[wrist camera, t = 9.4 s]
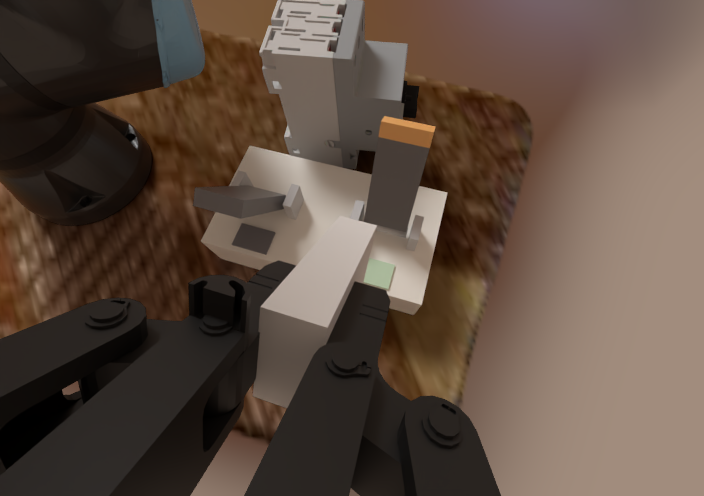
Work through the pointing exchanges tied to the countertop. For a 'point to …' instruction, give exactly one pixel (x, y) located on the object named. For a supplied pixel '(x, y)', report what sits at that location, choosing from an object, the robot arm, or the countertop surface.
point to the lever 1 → (238, 200)
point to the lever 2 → (397, 174)
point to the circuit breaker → (333, 79)
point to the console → (326, 223)
